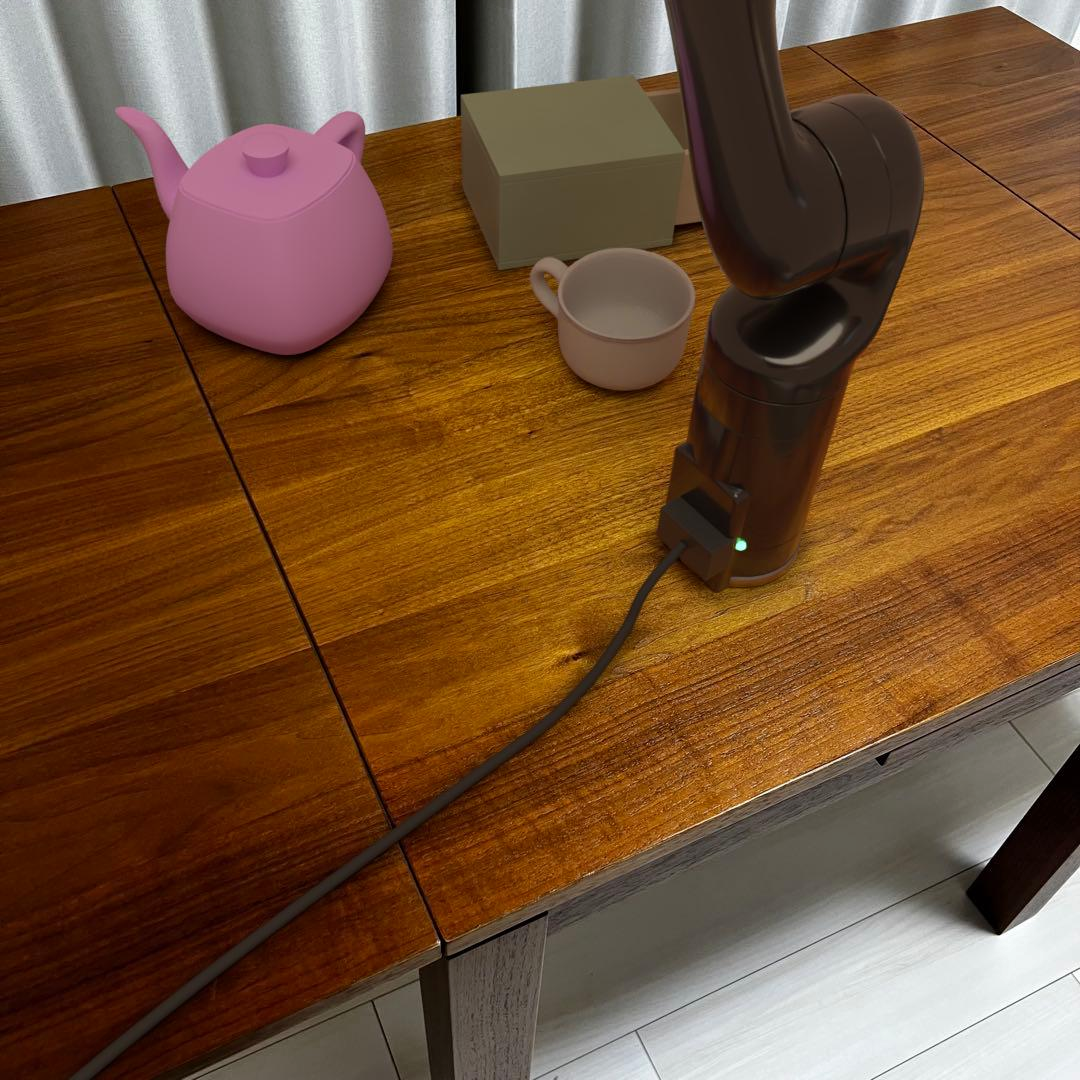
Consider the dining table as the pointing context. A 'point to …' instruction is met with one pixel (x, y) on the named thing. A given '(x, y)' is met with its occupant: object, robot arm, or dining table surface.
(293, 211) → the teapot
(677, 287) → the teacup
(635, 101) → the cabinet
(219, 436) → the dining table surface
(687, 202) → the drawer
